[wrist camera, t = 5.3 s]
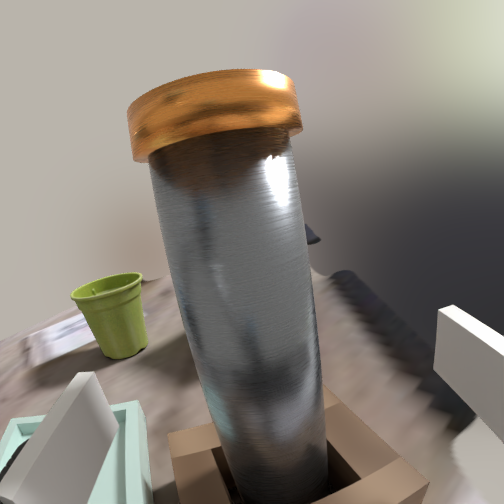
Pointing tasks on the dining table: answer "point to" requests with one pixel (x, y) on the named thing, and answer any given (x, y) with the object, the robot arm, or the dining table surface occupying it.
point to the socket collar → (338, 455)
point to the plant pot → (114, 313)
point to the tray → (116, 462)
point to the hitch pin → (241, 270)
